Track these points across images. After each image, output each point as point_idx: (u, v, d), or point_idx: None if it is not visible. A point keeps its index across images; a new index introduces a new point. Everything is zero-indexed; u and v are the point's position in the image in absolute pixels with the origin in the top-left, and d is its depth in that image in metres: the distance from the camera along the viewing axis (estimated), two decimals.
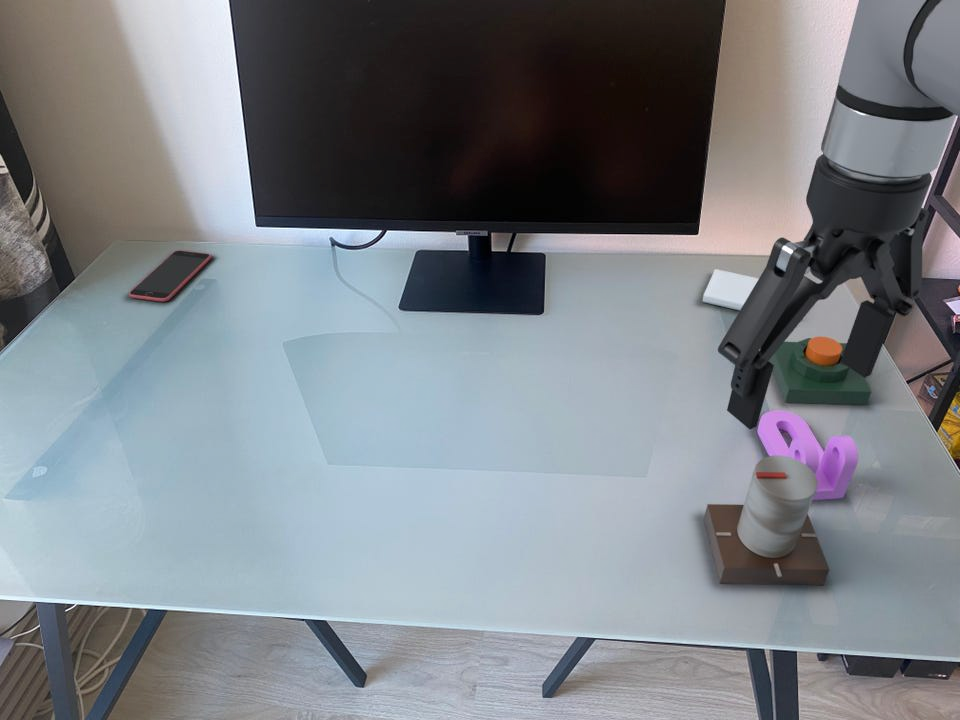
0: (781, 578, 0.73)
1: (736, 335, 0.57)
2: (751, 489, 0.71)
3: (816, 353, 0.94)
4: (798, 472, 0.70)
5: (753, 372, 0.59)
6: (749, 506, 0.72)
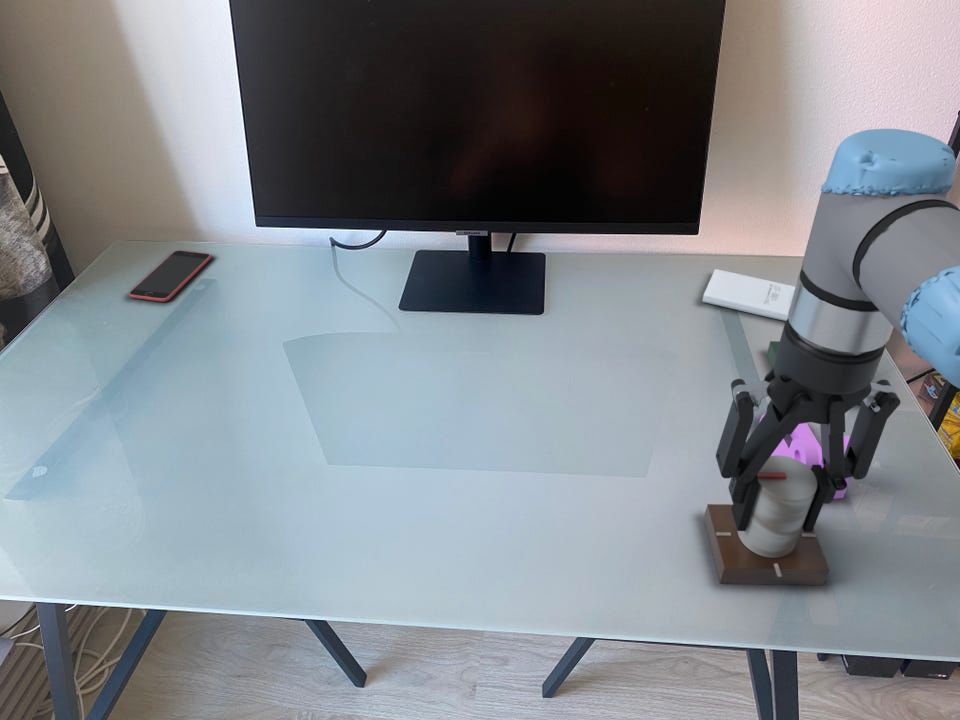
0: (781, 578, 0.73)
1: (721, 450, 0.69)
2: None
3: None
4: (798, 472, 0.70)
5: (741, 484, 0.70)
6: None
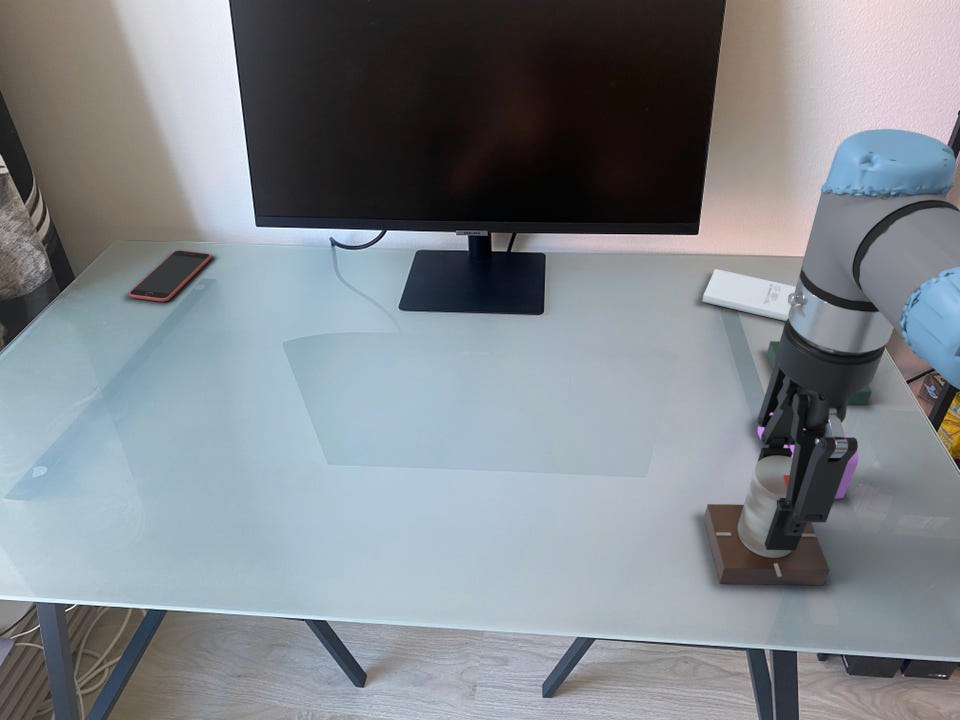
0: (781, 578, 0.73)
1: (812, 508, 0.63)
2: None
3: None
4: (776, 466, 0.71)
5: None
6: None
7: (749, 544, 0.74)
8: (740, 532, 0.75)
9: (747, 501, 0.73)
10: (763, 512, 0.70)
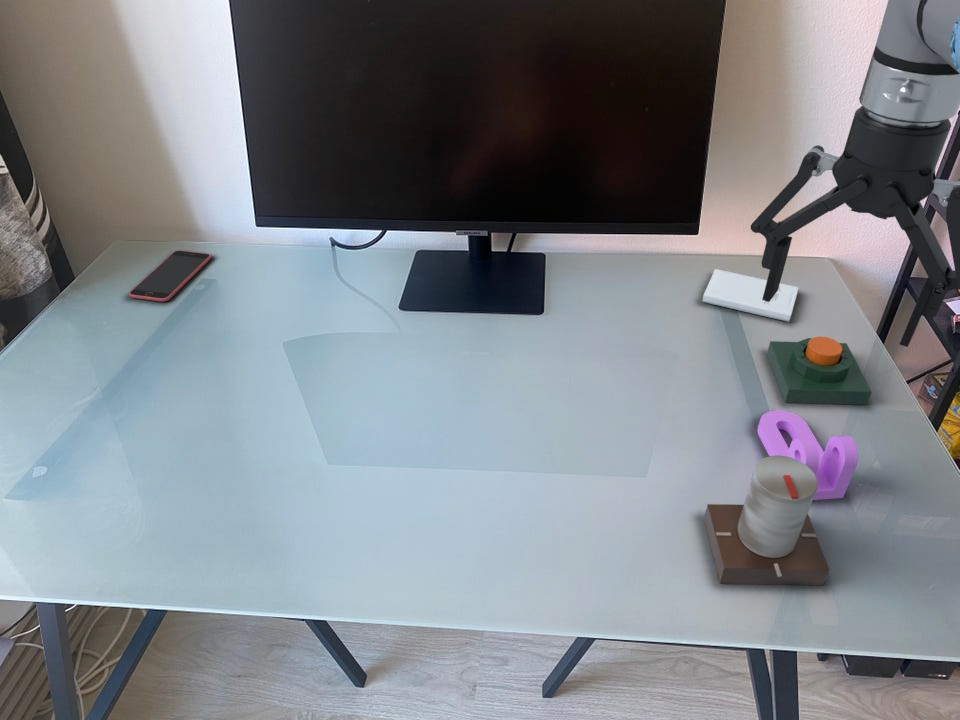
0: (781, 578, 0.73)
1: None
2: (790, 512, 0.69)
3: (816, 353, 0.94)
4: (776, 466, 0.71)
5: None
6: (790, 525, 0.70)
7: (749, 544, 0.74)
8: (740, 532, 0.75)
9: (747, 501, 0.73)
10: (763, 511, 0.70)
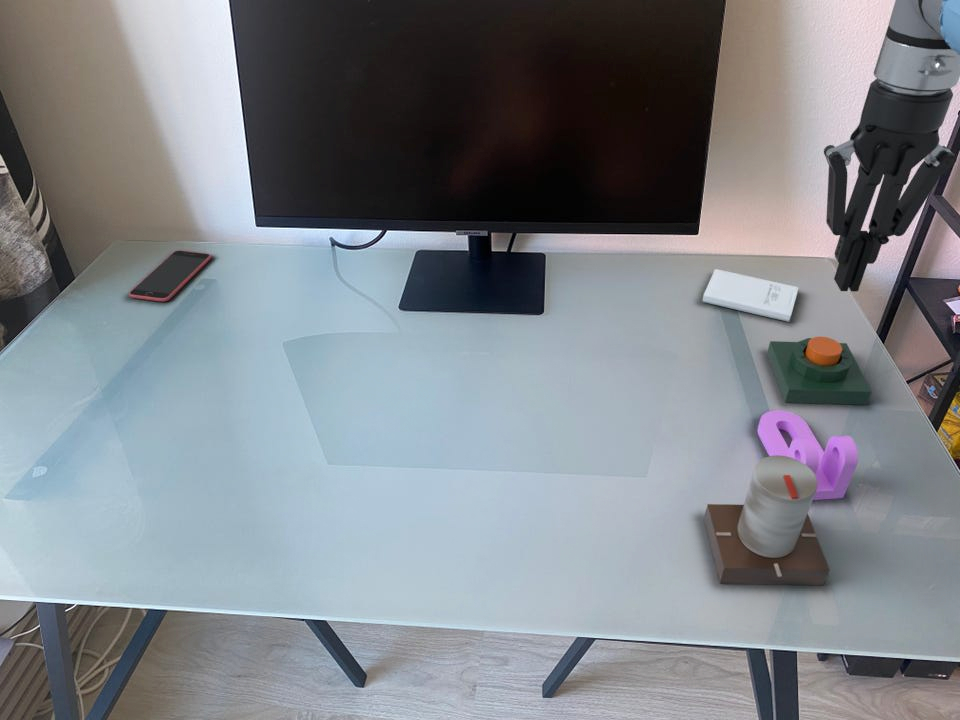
0: (781, 578, 0.73)
1: None
2: (790, 512, 0.69)
3: (816, 353, 0.94)
4: (776, 466, 0.71)
5: None
6: (790, 525, 0.70)
7: (749, 544, 0.74)
8: (740, 532, 0.75)
9: (747, 501, 0.73)
10: (763, 511, 0.70)
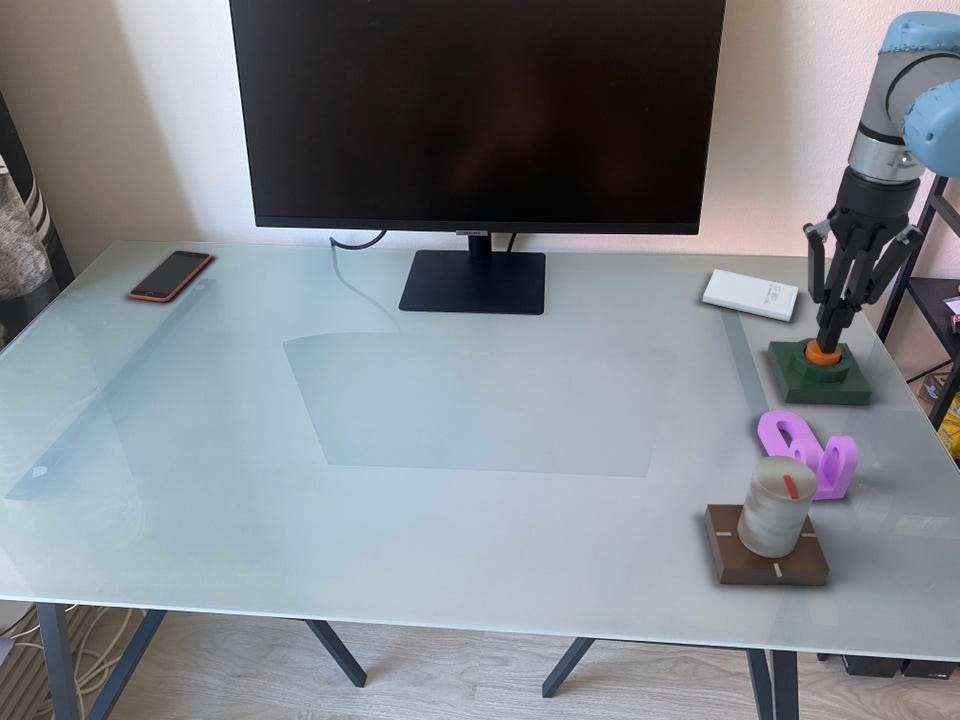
0: (781, 578, 0.73)
1: None
2: (790, 512, 0.69)
3: (815, 356, 0.94)
4: (776, 466, 0.71)
5: None
6: (790, 525, 0.70)
7: (749, 544, 0.74)
8: (740, 532, 0.75)
9: (747, 501, 0.73)
10: (763, 511, 0.70)
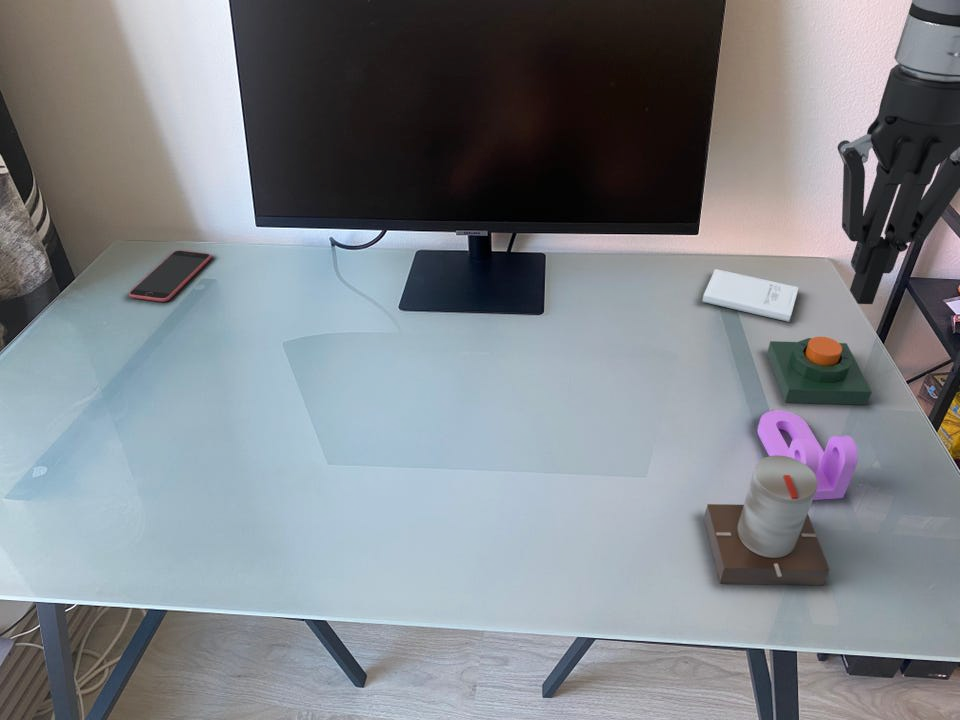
0: (781, 578, 0.73)
1: None
2: (790, 512, 0.69)
3: (816, 353, 0.94)
4: (776, 466, 0.71)
5: None
6: (790, 525, 0.70)
7: (749, 544, 0.74)
8: (740, 532, 0.75)
9: (747, 501, 0.73)
10: (763, 511, 0.70)
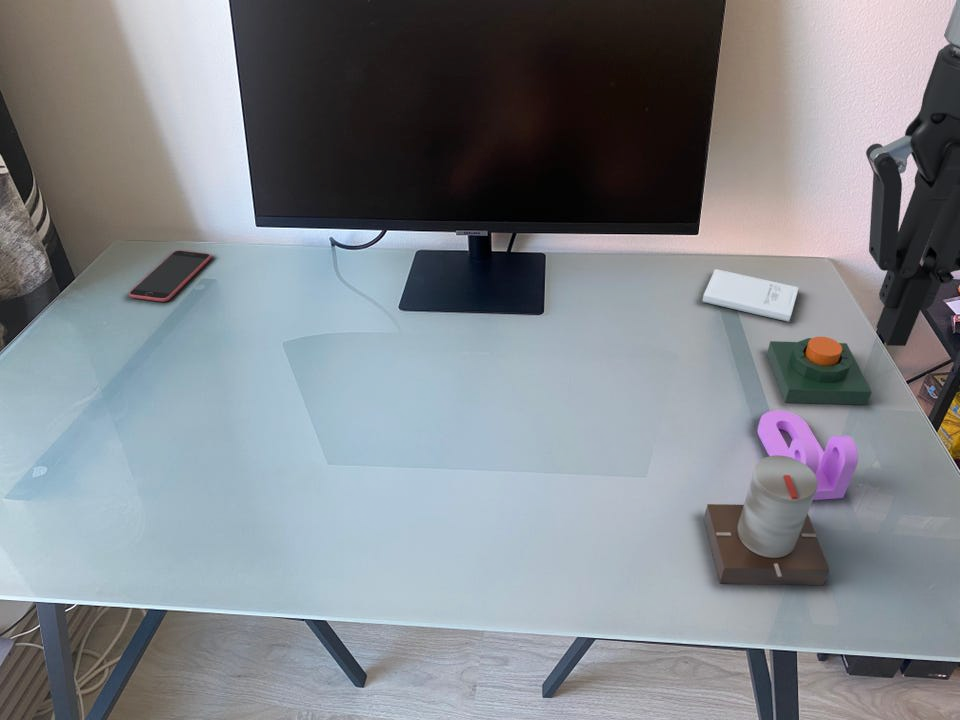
0: (781, 578, 0.73)
1: None
2: (790, 512, 0.69)
3: (816, 353, 0.94)
4: (776, 466, 0.71)
5: None
6: (790, 525, 0.70)
7: (749, 544, 0.74)
8: (740, 532, 0.75)
9: (747, 501, 0.73)
10: (763, 511, 0.70)
